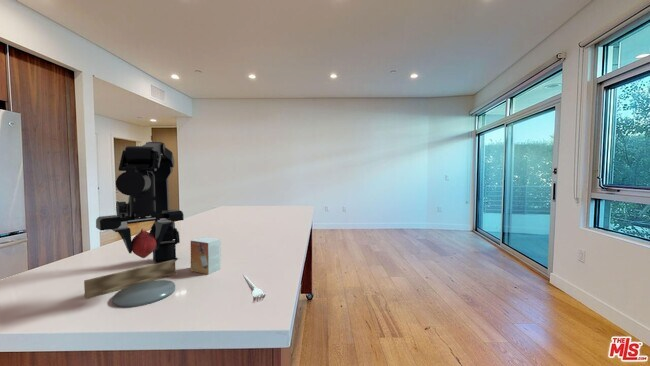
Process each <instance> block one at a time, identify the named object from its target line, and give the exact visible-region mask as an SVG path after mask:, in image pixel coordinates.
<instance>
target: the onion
mask: <svg viewBox="0 0 650 366" xmlns="http://www.w3.org/2000/svg"><path fill="white" fill-rule="evenodd" d="M131 242H132V253H133V254H135V255H136V256H138V257H139V258H141V259H145V258H147V257H148V256H149V255H151V254H153V251H154V249H155V248H156V244H157V243H156V239H155V237H154V236H153V235H152V234H151V233H150V231H149V232H148V231H147V230H146V229H145V228H143V227H142V228H141V230H140V232H139V233H138V234H136V235H135V236H134V237H132V238H131Z"/></svg>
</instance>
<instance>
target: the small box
mask: <svg viewBox="0 0 650 366" xmlns="http://www.w3.org/2000/svg"><path fill="white" fill-rule="evenodd" d="M221 244H222V243H221V239H220V238H211V237H200V238H195V239H191V240H190V271H191V272H193V273H194V272H196V273H200V274H204V275H211V274H213V273H215V272H217V271H219V270H221V267H222V266H221V261H222V258H221Z"/></svg>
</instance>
